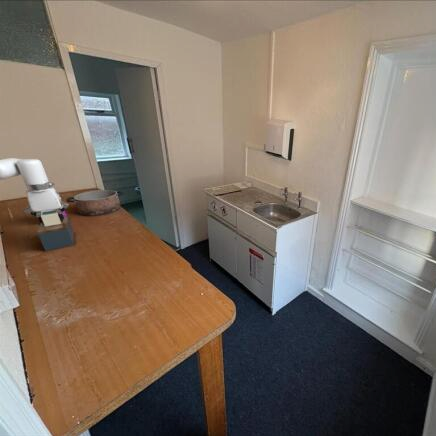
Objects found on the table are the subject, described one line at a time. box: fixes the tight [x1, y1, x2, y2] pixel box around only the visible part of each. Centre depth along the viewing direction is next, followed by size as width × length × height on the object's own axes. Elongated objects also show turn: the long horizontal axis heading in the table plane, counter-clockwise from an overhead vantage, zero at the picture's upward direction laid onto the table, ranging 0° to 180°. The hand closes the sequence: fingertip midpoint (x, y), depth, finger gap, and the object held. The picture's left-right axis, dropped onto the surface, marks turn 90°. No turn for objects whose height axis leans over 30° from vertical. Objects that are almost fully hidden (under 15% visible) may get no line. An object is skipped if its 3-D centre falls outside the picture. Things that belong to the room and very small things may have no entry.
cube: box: [41, 210, 61, 227], centre depth 113 cm, size 6×6×6 cm
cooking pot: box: [66, 189, 125, 217], centre depth 155 cm, size 30×22×11 cm
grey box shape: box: [36, 215, 75, 252], centre depth 116 cm, size 10×16×10 cm, turn 39°
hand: (53, 221), depth 114 cm, fingers closed on cube, 5 cm apart
